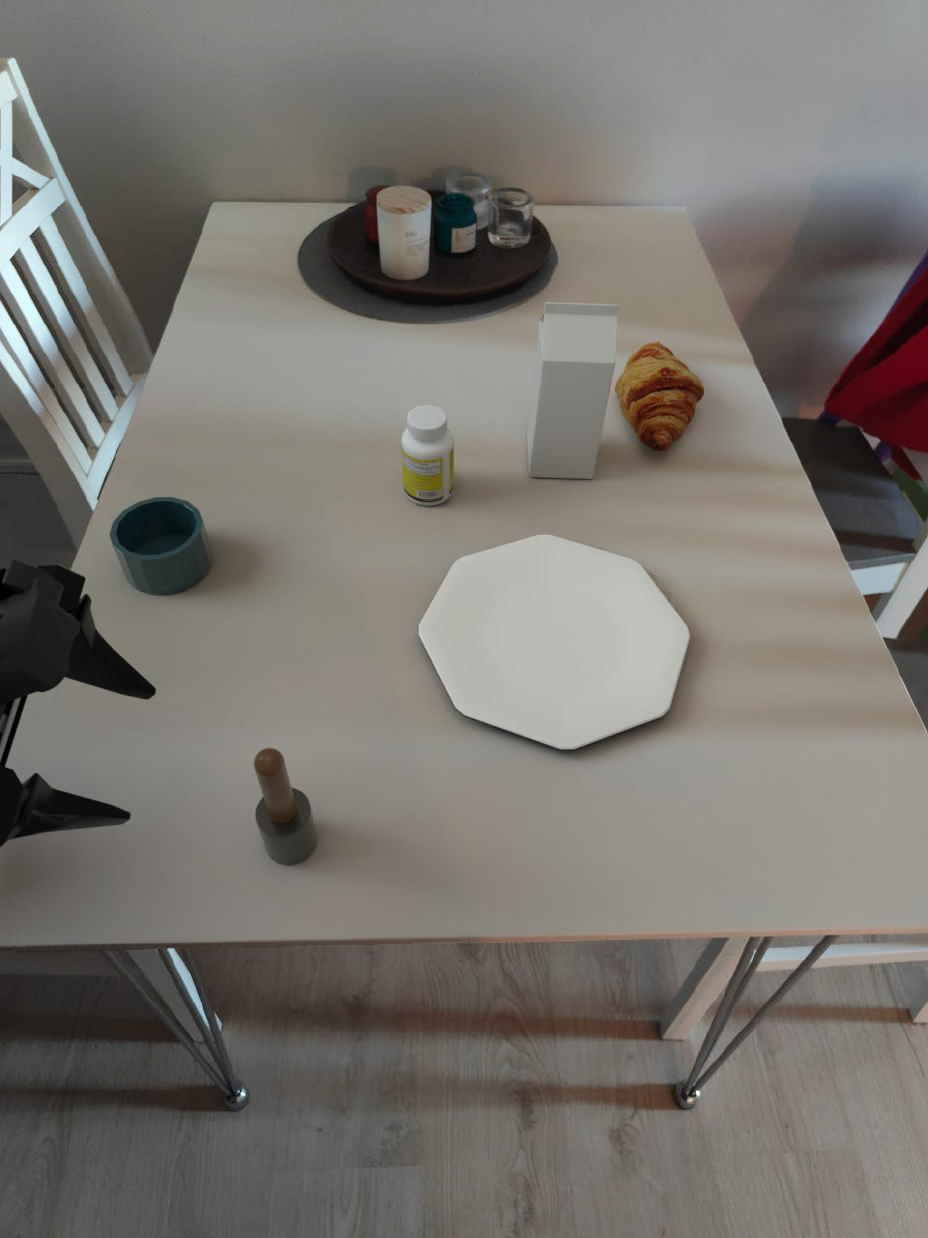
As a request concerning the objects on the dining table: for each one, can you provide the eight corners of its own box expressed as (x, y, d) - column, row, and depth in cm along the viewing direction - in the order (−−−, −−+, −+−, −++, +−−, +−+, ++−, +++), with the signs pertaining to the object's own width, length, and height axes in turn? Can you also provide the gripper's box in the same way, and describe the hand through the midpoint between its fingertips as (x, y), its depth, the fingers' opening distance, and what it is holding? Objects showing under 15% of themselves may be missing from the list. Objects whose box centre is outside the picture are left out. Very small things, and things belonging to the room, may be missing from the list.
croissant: (624, 378, 112) (604, 327, 107) (700, 352, 108) (683, 298, 103) (629, 483, 98) (607, 430, 93) (717, 457, 95) (699, 400, 89)
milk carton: (592, 480, 94) (623, 325, 80) (528, 478, 94) (547, 322, 79) (587, 439, 99) (615, 285, 84) (526, 437, 99) (543, 283, 84)
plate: (390, 587, 83) (390, 576, 82) (601, 525, 90) (604, 514, 89) (490, 787, 70) (491, 779, 68) (730, 697, 76) (735, 688, 75)
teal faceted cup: (117, 596, 81) (101, 560, 77) (133, 534, 87) (119, 497, 83) (206, 594, 82) (195, 558, 78) (217, 532, 87) (207, 495, 83)
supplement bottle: (429, 467, 95) (429, 393, 87) (463, 491, 92) (466, 417, 85) (392, 489, 92) (389, 415, 85) (426, 514, 90) (426, 441, 82)
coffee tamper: (263, 866, 65) (232, 783, 55) (267, 818, 67) (239, 730, 57) (316, 864, 65) (295, 781, 55) (318, 816, 68) (299, 728, 58)
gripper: (-137, 748, 36) (189, 847, 45) (-8, 459, 48) (229, 584, 57) (-219, 839, 42) (85, 910, 51) (-86, 560, 53) (141, 659, 63)
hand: (140, 753), depth 55 cm, fingers open, 9 cm apart
